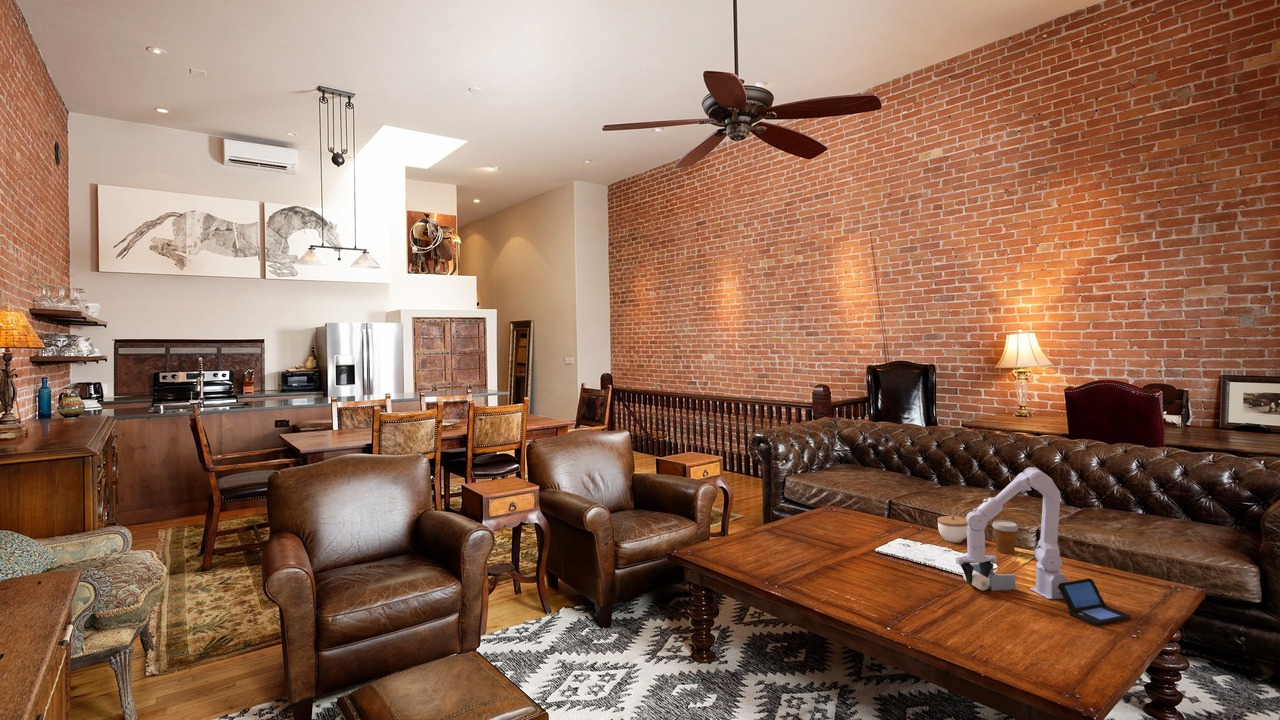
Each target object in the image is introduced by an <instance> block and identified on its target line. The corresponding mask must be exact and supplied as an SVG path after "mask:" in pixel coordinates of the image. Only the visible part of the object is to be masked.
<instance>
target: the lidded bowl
mask: <svg viewBox="0 0 1280 720" xmlns="http://www.w3.org/2000/svg"><path fill="white" fill-rule="evenodd" d="M937 528H938V532H939V534H940V535H941V537H942V538H943V540H944V541H946V542H950V543H961V542H963V540H965V539H966V538H967V531H968V530H967V528H968V524H967V522H966V520H965V518H963V517H960V516H955V514H954V515H953V514H952V515H943V516H942V515H941V516H939V517H937Z"/></svg>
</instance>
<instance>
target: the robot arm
mask: <svg viewBox="0 0 1280 720" xmlns="http://www.w3.org/2000/svg"><path fill="white" fill-rule="evenodd" d="M1032 488H1033V489H1034V490H1036V491H1038V493H1040V494H1041V495H1042V507H1041V508H1042V509H1041V511H1042V512H1041V520H1040V521H1041V523H1040V538H1039V540H1038V541H1037V547H1036V548H1035V549H1034V552H1033V554H1034V558H1035V559H1036V560H1037V562H1036V564H1035V587H1030V588H1029V589H1030V591H1033V592H1035V593H1036V594H1038V595H1040V596H1042V597H1043V598H1046V599H1047V600H1059V599H1064V598H1063V596H1062V594H1061V592H1060V590H1059V587H1058V585H1059V584H1060V583H1065V582H1068V578H1067V577H1066V575H1064V574H1063V573H1062V572H1061V568H1062V565H1063V561H1062V558H1061V555H1060V552H1061V551H1060V548H1059V544H1058V537H1059V527H1060V526H1059V524H1060V523H1059V522H1060V507H1061V491H1060V490H1059V489H1058V487H1057V485H1056V484H1055V482H1054V480H1053V478H1051V477H1050V476H1048V474H1046V473H1045V472H1043V471H1042V470H1040V469H1039V468H1037V467H1034V466H1030V467H1026V468H1025V469H1024V470H1023V472H1020V473H1018V474H1017V475H1016V476H1015V477H1014V479H1013V480H1012V481H1010V482H1009V484H1008V485H1006V486H1005V488H1003V489H1002V490H1001V491H999V493H998V494H997V495H996V496H994V497H988V498H984V499H983V500H982V501H983V502H982V503H981V504H980V505H978V506H977V507H976V508H975V507H974V508H973V509H972V511H969V512H968V513H967V514H966V517H965V518H964V519H965V520H966V522H967V524H968V528H967V530H968V531H967V536H966V540H967V542H966V544H967V545H966V546H967V554H966V555H964V556H959V557H955V563H956V564H958V565H959V566H960V567H961V569H962V571H963V574H965V577H966V581H965V582H966V583H968V584H969V585H971V584H972V573H973V569H974V567H973V566H971V563H979V565H980V573H981V575H983V576H985V577H987V578H988V575H989V573H990V571H991V569H992V568H993V569H994V563H997V561H998V560H997V556H995V555H993V554H992V555H987V554H986V533H985V529H986V528H987V526H988V525H987V524H988V522H990V521H991V520H993V518H995V517H996V516H997V515H998V514H999V513H1001V512H1002V511H1003V505H1004V504H1005V503H1007V502H1008V501H1009V500H1011V499H1012V498H1013V497H1014V496H1017V494H1018V493H1020V492H1022V491H1024V492H1025V491H1032ZM991 562H992V563H993V564H992V563H991Z"/></svg>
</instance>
